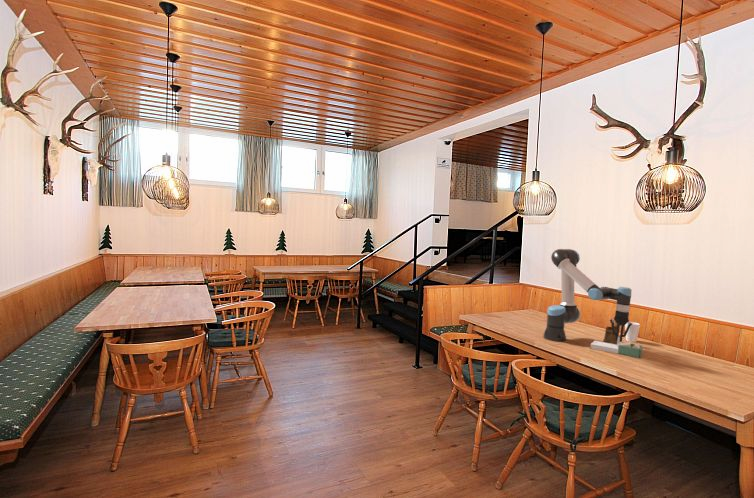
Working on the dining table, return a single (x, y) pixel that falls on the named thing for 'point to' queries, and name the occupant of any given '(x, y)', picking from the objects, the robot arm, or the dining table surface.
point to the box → (630, 351)
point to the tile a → (625, 344)
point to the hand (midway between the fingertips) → (618, 346)
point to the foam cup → (632, 331)
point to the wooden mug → (610, 335)
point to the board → (604, 347)
